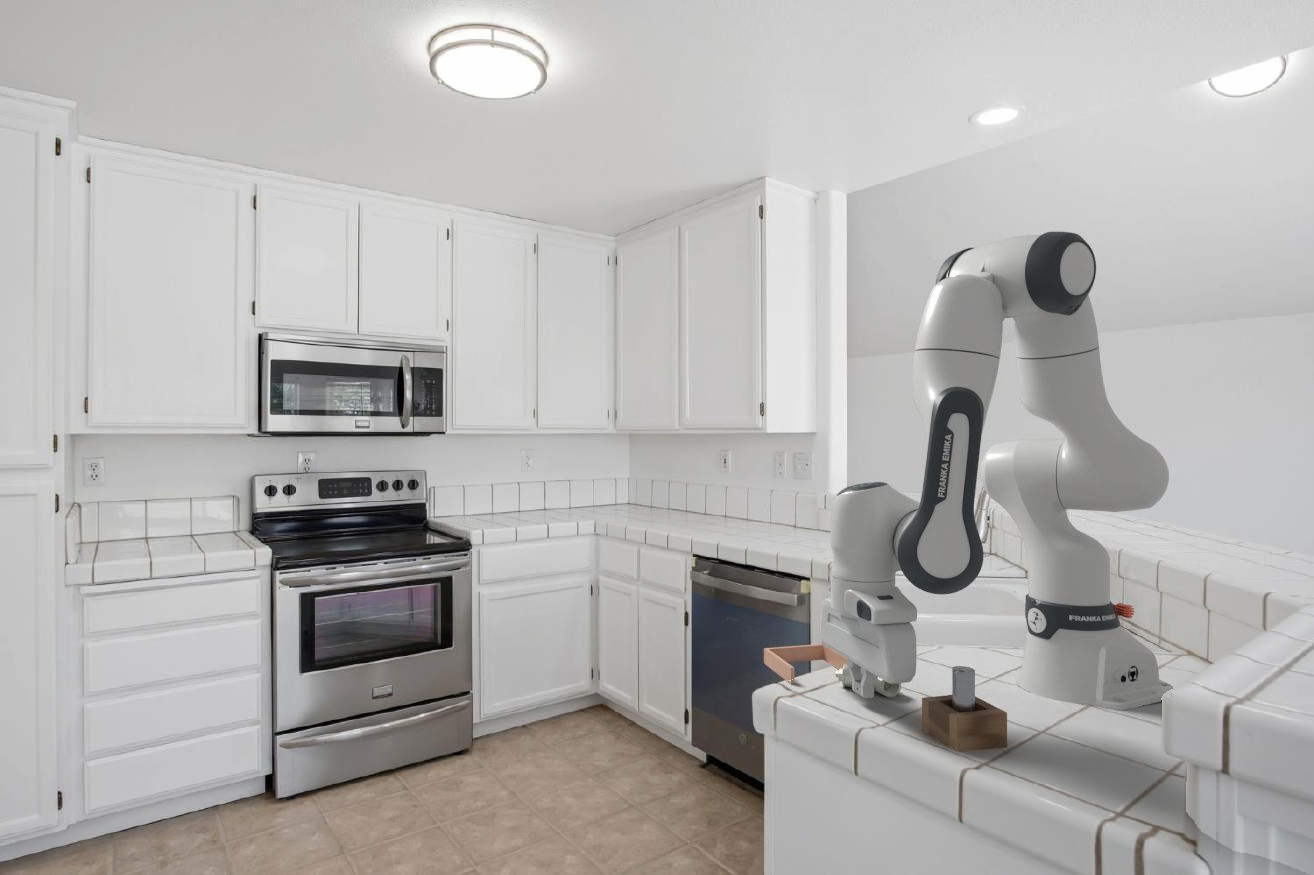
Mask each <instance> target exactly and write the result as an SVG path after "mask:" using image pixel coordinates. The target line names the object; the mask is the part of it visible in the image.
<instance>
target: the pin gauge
mask: <svg viewBox="0 0 1314 875" xmlns="http://www.w3.org/2000/svg"><path fill="white" fill-rule="evenodd" d="M951 670H952V671H951V673H952V674H951V681H952V683H951V684H952V685H951V687H952V688H951V689H952V691H951V692H952V693H951V695H952V709H954V710H956V711H957V712H959V713H962V712H971V711H975V696H976V670H975V669H974V668H972V667H969V666H962V665H956V666H953V667H952V668H951Z"/></svg>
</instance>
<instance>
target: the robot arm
mask: <svg viewBox="0 0 1314 875" xmlns="http://www.w3.org/2000/svg"><path fill="white" fill-rule="evenodd" d="M1096 261H1097V260H1096V256H1095V253H1094V252H1093V249H1092V247H1091V245H1089V243H1088V242H1087V241H1086V240H1085V239H1084V238H1083V237H1082V236H1081V235H1080V234H1078V233H1075V232H1069V231H1047V232H1044V233H1043V234H1029V235H1028V234H1027V235H1019V236H1013V237H1012V236H1011V237H1007V238H1003V239H1000V240H999V241H995V242H991V243H988V244H983V245H980V246H977V247H968V248H965V249H962V250H959V251H957V252H956V253H953V254H951V255H950V256H948V257H947V258H946V259H945V261H944V262H943V263H942V265H941V266H940V268H939V271H938V273H937V276H936V280H935V285H934V286H933V288H932V289H931V291H930V293H929V296H928V298H927V301H926V303H925V305H924V310H923V312H922V316H921V318H920V324H919V326H918V331H917V335H916V338H915V339H916V340H915V347H914V352H913V358H912V369H911V387H912V388H911V390H912V400H913V402H914V404H915V407H916V409H917V411H918V413H919V415H920V417H921V419H922V421H923V426H924V429H925V437H926V438H925V439H926V450H925V457H924V458H925V460H924V465H923V466H924V467H923V474H922V475H923V476H922V482H921V483H922V484H921V490H920V498H919V501H918V500H916V499H914V498H911V497H909V496H907V495H905V494H903V493H902V492H900V491H898V490H897V489H895V488H893V486H891V485H890V484H889V483H887V482H882V481H873V482H870V481H869V482H864V483H857V484H852V485H849V486H846V487H844V488H842V489H841V490H840V491H839V492H838V493H837V494H836V495H835V496H834V499H833V503H832V510H831V518H830V519H831V520H830V548H831V550H832V557H833V561H832V567H831V568H830V569H831V570H830V587H829V589H828V590H827V591H826V593H825V599H823V601H822V604H821V608H820V617H819V619H820V620H819V638H820V641H821V644H823V645H824V646H826V647H828V648H830V649H831V650H833V651H835V652H836V653H838V654H840V655H842V656H843V657H845V658H847V665H848V668H849V672H850V675H851V678H852V688H851V690H852V691H853V692H854V693H856V694H857V695H859V696H860V697H862V698H864V699H872V698H873V697H874V696H875V691H874V685H875V683H876V681H877V679H878V677H879V678H881V679H883V680H885V681H886V682H888V683H890V684H896V683H901V684H904V683H910V682H912V681H913V679H914V677H915V676H916V671H917V634H916V630H915V628H914V626H913V625H912V624H913V622H916V621H917V619H918V609H917V607H916V605H915V604H914V603H913V602H911V601H910V600H909V598H907V597H906V596H905V595H904V593H903V592H902V591H901V589H900V588H899V587H898V586H896V573H898V572H902V574H903V575H904V577H905V578H906V579H907V581H908V582H910V583H911V585H913V586H914V587H916V588H918V590H921V591H923V592H925V593H929V594H932V595H941V596H942V595H950V594H955V593H957V592H960V591H962V590H965V589H966V588H968V587H969V586H970V585H971V584H972V583H973V582H974V581H975V580H976V579H977V578H978V576H979V574H980V572H981V570H982V567H983V565H984V548H983V543H982V539H981V536H980V533H979V530H978V527H977V523H976V517H975V498H976V490H977V489H976V488H977V481H978V470H979V478H980V483H981V485H982V487H983V488H984V491H985V493H987V495H988V496H989V497H990V498H991V499H992V500H993V501H995V502H996V503H997V504H998V505H1000V506H1001V507H1002V508H1003V509H1004V510H1005V511H1006V512H1007V513H1008V514H1009V516H1010V517H1011V519H1012V520H1013V521H1014V523H1015V525H1016V526H1017V528H1018V530H1019V532H1020V535H1021V537H1022V539H1023V540H1022V541H1023V542H1024V547H1025V553H1026V561H1027V562H1026V563H1027V565H1026V566H1027V580H1028V581H1027V582H1028V584H1027V586H1028V593H1027V594H1025V601H1024V607H1025V608H1024V616H1025V620H1026V621H1025V622H1026V625H1027V626H1026V628H1027V630H1026V635H1025V641H1024V642H1025V643H1024V649H1023V657H1022V663H1021V665H1020V671H1019V673H1018V674H1019V675H1018V677H1017V679H1016V680H1017V681H1016V682H1017V685H1018V686H1019V687H1020V688H1021V689H1023V690H1024V691H1027V692H1028V693H1031V694H1034V696H1035V695H1036V696H1038V697H1042V698H1045V699H1050V700H1054V701H1059V702H1063V703H1064V702H1065V703H1070V704H1078V705H1084V706H1085V705H1087V706H1093V707H1098V708H1103V709H1107V710H1114V711H1124V710H1125V709H1126V710H1128V709H1127V708H1131V709H1134V708H1133V707H1136V708H1139V707H1144V706H1147V705H1152V704H1157V703H1160V702H1162V701H1161V698H1162V696H1163V694H1164V693H1166V692H1167V691H1169V690H1171V689H1173V687H1174V685H1171V684H1169V683H1168V682H1166V681H1163V680H1162V679H1160V672H1159V664H1158V661H1157V657H1156V655H1155V654H1154V652H1153V651H1152V650H1151V649H1150V648H1149V647H1147V646H1146V645H1145V644H1143V643H1142V642H1141V641H1139V640H1138V639H1137V638H1135V637H1134V636H1133V635H1132V634H1130V633H1129V632H1128V631H1127V630H1125V628H1123V627H1122V626H1121V621H1120V618H1119V617H1122V618H1126V619H1132V618H1133V617H1134V615H1135V612H1136V611H1135V608H1133V606H1132V605H1129V604H1124V603H1122V602H1118V603H1116V604H1114V603H1113V602H1112V601H1111V561H1110V560H1111V558H1110V556H1109V553H1108V552H1109V551H1108V550H1107V549H1106V547H1104V545H1103V544H1102V543H1101V542H1100V541H1099V540H1097V539H1095V538H1094V537H1092V536H1090V535H1089V534H1087V533H1084V532H1082V531H1080V530H1079V529H1077V528H1076V527H1075V526H1074V525H1073V523H1072V522H1071V520H1070V518H1069V517H1068V513H1067V511H1068V510H1079V511H1090V512H1091V511H1093V512H1108V513H1109V512H1110V513H1119V512H1130V511H1137V510H1138V511H1139V510H1146V509H1150V508H1152V507H1154V506H1156V504H1157V503H1159V501H1160V500H1161V499H1162V498H1163V496H1164V495H1165V493H1166V491H1167V489H1168V485H1169V480H1170V473H1169V468H1168V464H1167V462H1166V459H1165V457H1164V456H1163V455H1162V454H1161V452H1160V450H1158V449H1157V448H1156V447H1155V446H1154V445H1152V444H1151V443H1150V442H1147V441H1146V440H1144V439H1142V438H1141V437H1139V436H1138V435H1136V434H1135V433H1134V432H1133V431H1131V430H1130V429H1129V428H1128V427H1127V426H1126V425H1125V424H1123V422H1122V421H1121V419H1119V417H1118V415H1116V413H1115V412H1114V409H1113V408H1112V406H1111V404H1110V402H1109V400H1108V397H1107V394H1106V389H1105V383H1104V377H1103V372H1102V370H1103V369H1102V364H1101V363H1102V362H1101V354H1100V352H1101V351H1100V344H1099V332H1098V328H1097V322H1096V317H1095V313H1094V312H1095V311H1094V310H1093V305H1092V302H1091V299H1090V296H1089V294H1090V292H1091V290H1092V288H1093V285H1094V283H1095V279H1096V275H1097V262H1096ZM1005 319H1012V320H1014V333H1013V334H1014V354H1015V361H1016V362H1015V363H1016V371H1017V372H1016V373H1017V382H1018V384H1017V385H1018V390H1019V391H1018V393H1019V399H1020V403H1021V404H1022V405H1023V407H1024V408H1025V409H1026V410H1027V411H1028V412H1029V413H1030V414H1031V415H1033V416H1035V417H1037V418H1040V419H1042V420H1044V421H1047V422H1049V423H1051V424H1052V425H1053V426H1055V427H1056V428H1057V429H1058V430H1059V431H1060V432H1061V434H1062V435H1063V437H1064V438H1021V439H1015V440H1009V441H1004V442H1000V443H996V444H993V445H992V446H990V448H989V449H988V450H987V451H986V453H985V454H984V455H983V458H982V461H981V463H980V466H979V461H980V451H981V443H982V435H983V430H984V427H985V424H986V419H987V416H988V412H989V408H990V404H991V403H992V402H991V400H992V398H993V395H994V390H995V386H996V382H997V378H998V377H997V376H998V373H999V367H1000V360H1001V351H1002V347H1003V345H1002V344H1003V331H1004V330H1003V328H1004V326H1003V324H1004V323H1003V322H1004V321H1005ZM1156 701H1157V702H1156ZM1143 705H1144V706H1143Z"/></svg>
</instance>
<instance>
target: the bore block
mask: <svg viewBox="0 0 1314 875" xmlns="http://www.w3.org/2000/svg"><path fill="white" fill-rule="evenodd" d="M921 731H922V732H924V733H925V734H927V735H929V736H931V737H933V739H936V740H937V741H939V742H941V743H942V744H944V746H945V745H946V746H947V747H949V748H950V749H952V750H954V751H955V752H966V751H967V752H968V751H979V750H981V751H982V750H991V749H1005V748H1008V712H1006V711H1005V710H1003V709H1001V708H999V707H997V706H995V705H993V704H991V703H989V702H988V701H985V700H984V699H981V698H980V697H977V696H976V695H975V711H971V712H962V713H959V712H957V711H956V710H954V709H952V694H949V695H948V694H946V695H937V696H927V697H926V696H925V697H922V698H921Z"/></svg>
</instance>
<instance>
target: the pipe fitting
mask: <svg viewBox="0 0 1314 875" xmlns="http://www.w3.org/2000/svg"><path fill="white" fill-rule="evenodd" d="M835 678H838V681H840V682H841V683H842V686H843V687H845V688H851V689H852V678H851V675H850V672H849V668H848V665H847V664H844V666H843V669H838V670H837V671H835ZM901 690H902V683H896V684H890V683H888V682H886V681H885V680H883V679H881V678H879V677H878V679H877V681H876V683H875V685H874V692H878V693H879V694H880V695H883V696H885V697H887V698H894V697H896V696H897V695H898V694H899V693H900V692H901Z"/></svg>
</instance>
